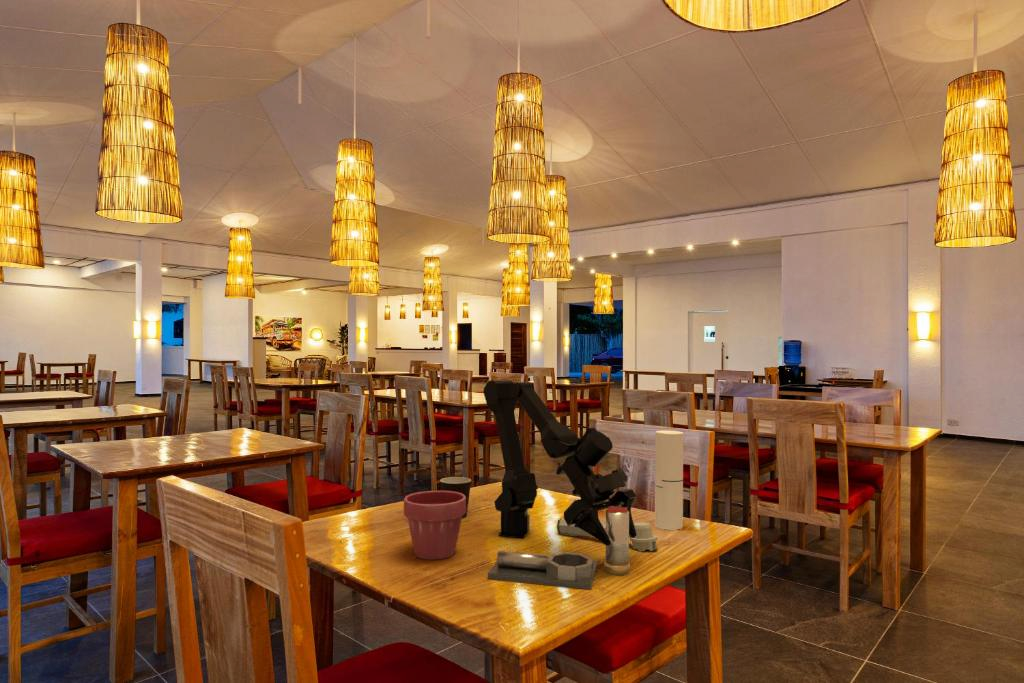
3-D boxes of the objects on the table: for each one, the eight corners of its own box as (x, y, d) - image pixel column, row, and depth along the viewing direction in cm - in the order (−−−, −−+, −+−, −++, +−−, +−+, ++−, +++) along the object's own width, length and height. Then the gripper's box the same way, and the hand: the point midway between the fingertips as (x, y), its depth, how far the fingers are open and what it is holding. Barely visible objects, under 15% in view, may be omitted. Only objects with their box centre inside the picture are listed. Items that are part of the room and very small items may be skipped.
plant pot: (402, 544, 143) (403, 490, 144) (461, 541, 146) (462, 488, 146) (403, 565, 129) (404, 505, 129) (469, 562, 132) (469, 503, 132)
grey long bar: (564, 515, 157) (657, 517, 144) (567, 542, 156) (661, 545, 143) (554, 520, 152) (650, 522, 139) (557, 547, 152) (653, 552, 139)
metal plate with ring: (487, 578, 122) (487, 557, 122) (504, 557, 135) (504, 538, 135) (590, 589, 117) (591, 567, 117) (597, 566, 130) (597, 546, 130)
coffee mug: (469, 520, 164) (469, 483, 164) (437, 520, 164) (438, 483, 165) (472, 509, 176) (473, 475, 176) (443, 509, 176) (443, 474, 176)
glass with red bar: (602, 574, 126) (603, 509, 126) (605, 565, 131) (605, 503, 131) (629, 576, 125) (629, 511, 125) (630, 567, 130) (631, 505, 130)
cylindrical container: (678, 531, 156) (678, 434, 157) (651, 527, 160) (651, 432, 160) (686, 525, 162) (686, 431, 163) (659, 521, 166) (660, 429, 166)
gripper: (574, 461, 125) (615, 527, 117) (630, 452, 137) (671, 511, 129) (546, 493, 131) (584, 558, 122) (603, 481, 143) (641, 539, 135)
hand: (622, 540), depth 127 cm, fingers open, 8 cm apart
